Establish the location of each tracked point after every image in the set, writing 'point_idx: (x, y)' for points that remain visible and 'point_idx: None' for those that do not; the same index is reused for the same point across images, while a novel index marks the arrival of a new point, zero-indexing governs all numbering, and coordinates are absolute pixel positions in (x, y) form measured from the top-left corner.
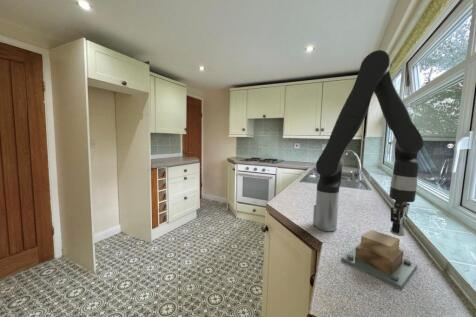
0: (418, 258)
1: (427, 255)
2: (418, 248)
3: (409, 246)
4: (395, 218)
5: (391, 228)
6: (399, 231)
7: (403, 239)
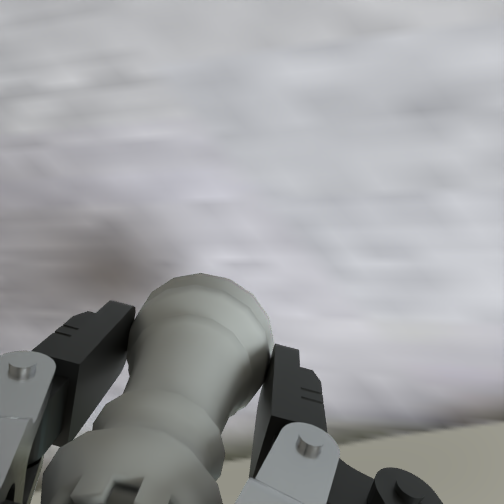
0: None
1: None
2: None
3: None
4: (121, 419)
5: (166, 299)
6: (113, 377)
7: (396, 347)
